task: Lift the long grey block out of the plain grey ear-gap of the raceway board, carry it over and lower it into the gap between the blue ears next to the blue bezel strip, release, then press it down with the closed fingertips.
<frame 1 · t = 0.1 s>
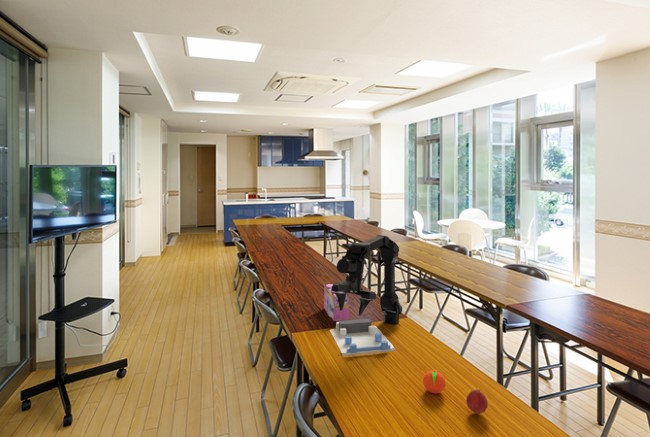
hand: (350, 313, 154), 15 cm above the table, tool pointing down, fingers open, 9 cm apart
long grey block: (355, 331, 172), point 1 cm above the table, touching raceway board
raceway board: (360, 341, 164), on the table
onion: (476, 414, 113), on the table
clementine: (433, 393, 125), on the table
pink drink multipack: (335, 315, 196), on the table
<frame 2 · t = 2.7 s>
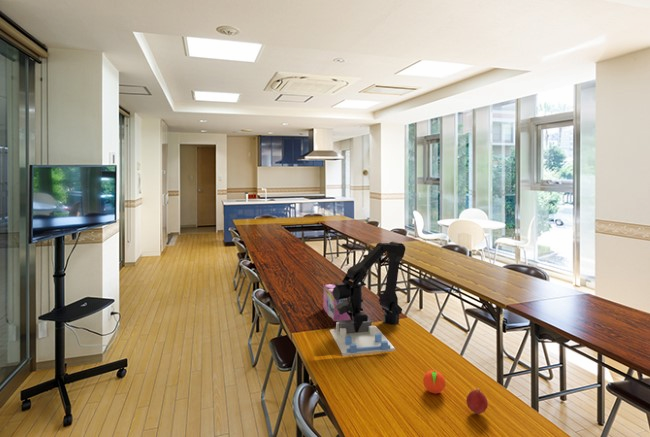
hand: (355, 329, 172), 2 cm above the table, tool pointing down, fingers closed on long grey block, 4 cm apart
long grey block: (355, 331, 172), point 1 cm above the table, touching gripper, raceway board
everything else where it was.
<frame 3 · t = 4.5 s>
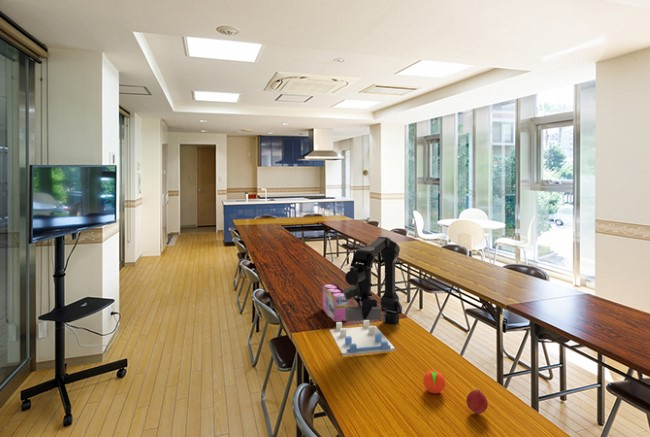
hand: (363, 317, 158), 13 cm above the table, tool pointing down, fingers closed on long grey block, 4 cm apart
long grey block: (362, 318, 158), point 12 cm above the table, touching gripper
everything else where it was.
when the fingers open (3 cm above the table, at t = 6.3 s): long grey block stays where it is, resting on raceway board.
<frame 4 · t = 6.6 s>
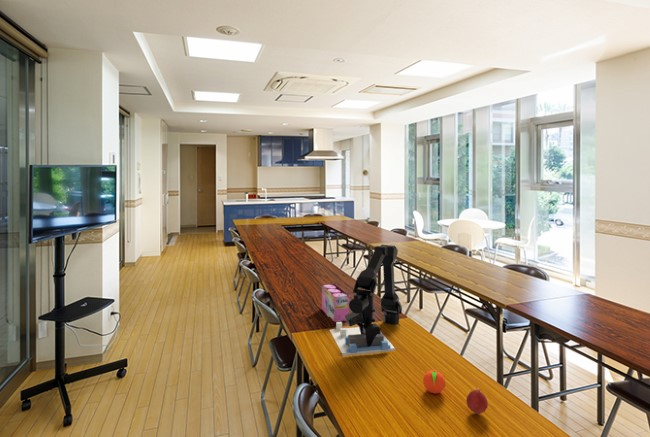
hand: (366, 342, 156), 3 cm above the table, tool pointing down, fingers open, 7 cm apart
long grey block: (365, 346, 156), point 1 cm above the table, touching raceway board
everything else where it was.
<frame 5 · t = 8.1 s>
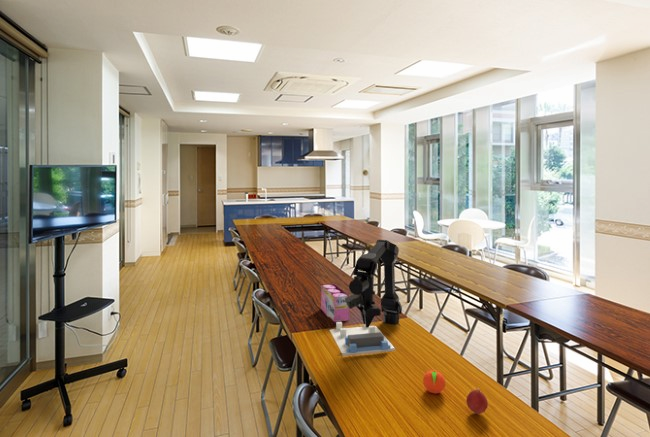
hand: (366, 325, 155), 10 cm above the table, tool pointing down, fingers open, 3 cm apart
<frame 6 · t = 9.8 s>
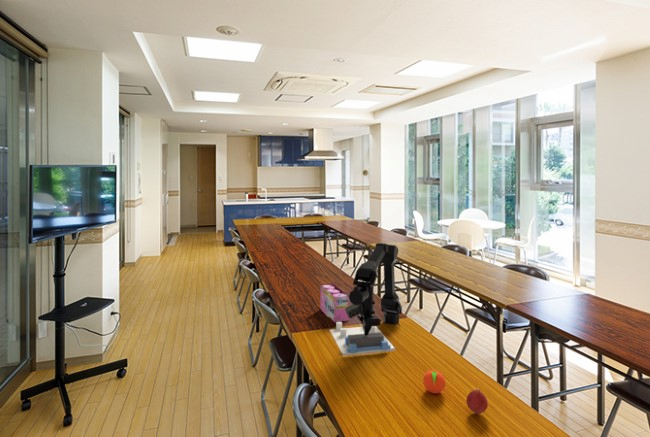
hand: (366, 335, 156), 6 cm above the table, tool pointing down, fingers closed
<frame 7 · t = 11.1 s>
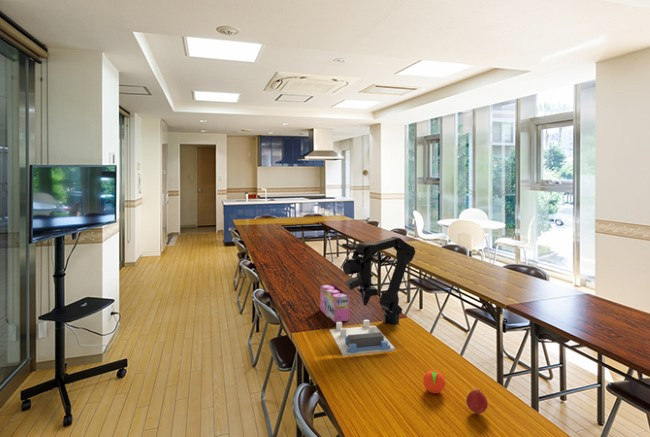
hand: (365, 305, 173), 12 cm above the table, tool pointing down, fingers closed
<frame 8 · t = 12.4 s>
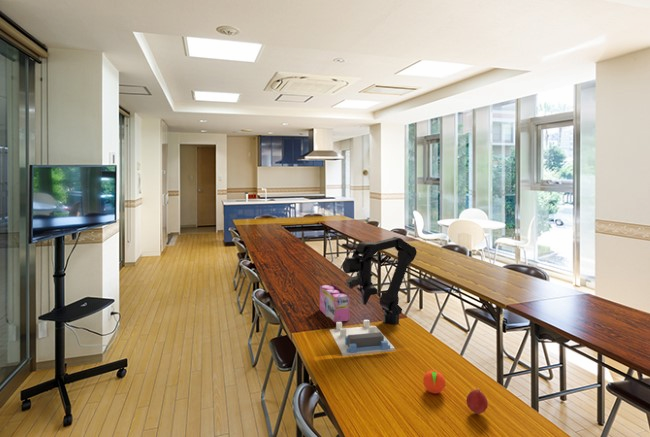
hand: (364, 304, 174), 13 cm above the table, tool pointing down, fingers closed
at the end: long grey block inside the target area on the raceway board (0.1 cm from its centre), point 1.2 cm above the raceway board's base; long grey block tilted 0°; the gripper is holding nothing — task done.
